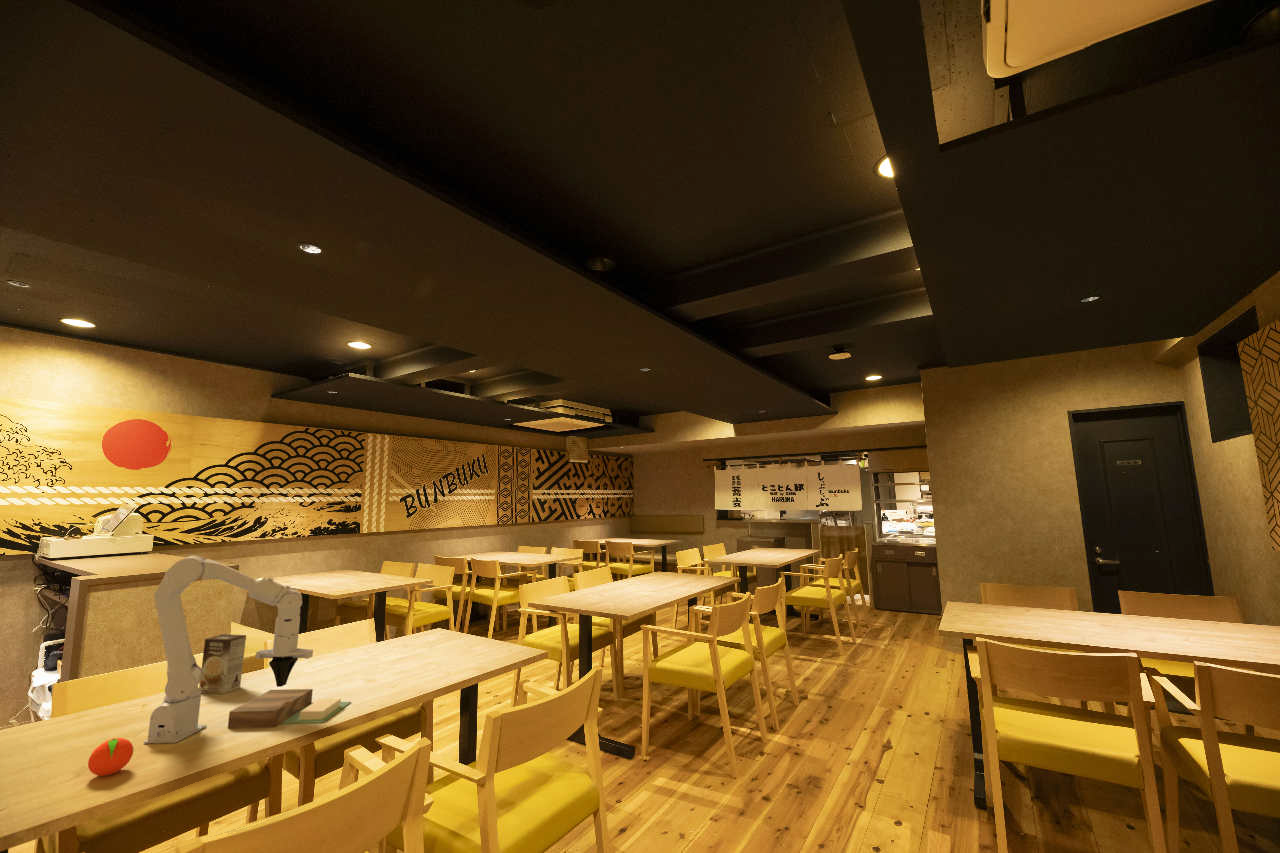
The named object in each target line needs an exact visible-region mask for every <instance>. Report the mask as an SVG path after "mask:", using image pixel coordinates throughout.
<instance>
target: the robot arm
mask: <svg viewBox="0 0 1280 853" xmlns="http://www.w3.org/2000/svg"><path fill="white" fill-rule="evenodd" d="M199 578H201V581H205V580H219V581H222V582H225V583H227V584H230V585H233V586H236V587H239V588H240V589H244V590H247V593H248V597H249V598H252V599H254V600H257V601H259V602H261V603H264V604H267V605H268V606H271V607H275V606H276V608H277V617H276V619H275V624H274V625H275V627H274V635H273V636H274V637H273V644H272V645H273V646H272V649H260V650H257V651H256V652H255V660H259V659H271V660H270V661H269V663H268V665H269V667H270V668H271V670H272V672H273V675H274V679H275V684H276V687H278V688H279V687H283V686H286V685H287V682H288V679H289V677H290V675H291V672H292V669H293V667H294V666H295V664H296V663H297V661H298V660H299V659H310V658H313V654H314V649H306V648H301V647H300V648H299V647H298V644H299V631H300V624H301V623H300V622H301V615H300V614H301V607H302V605H303V596H302V593H301V592H300V591H299V590H297V589H296V588H293V587H292V588H291V586H290V585H287V584H286V585H282V584H281V583H278V582H276V581H274V578H273V577H271V576H269V577H268V578H267V577H265V576H262V577H258V578H254V577H252V576H249V575H247V574H245V573H243V572H241V571H239V570H237V569H234V568H233V567H230V566H229V565H226V564H224V563H221V562H219V561H216V560H214V559H210V558H206V559H205V557H203V556H202V555H196V554H195V555H194V554H193V555H188V556H186V557H183V558H182V559H179V560H178V561H175V563H174V564H172V565H171V566H170V567H169V568H168V569H167V570H166V571H165V574H164V576H163V578H162V579H161V581H160V583H159V585H158V587H157V589H155V590H156V591H155V592H154V593H153V594H154V595H153V596H154V598H153V599H154V603H155V604H154V605H155V608H156V614H157V618H158V623H159V627H160V633H161V638H162V643H163V649H164V652H165V658H166V661H167V667H166V676H167V681H166V684H165V687H164V693H165V696H164V697H163V702H162V703H161V704H160V705H159V706H157V707H156V708H155V709H154V710H153V711H152V713H151V715H150V718H149V719H150V720H149V725H148V732H147V733H148V734H147V735H148V736H147V739H145V740H144V741H143V744H167V743H168V744H171V743H179V742H181V741H182V740H184V739H186V738H188V737H189V736H192V735H193V734H194V733H197V732H199V731H201V730H203V729H205V728H206V727H207V724H199V716H200V708H201V707H200V706H201V701H202V700H201V698H202V693H201V690H200V689H199V685H200V681H201V680H202V678H203V670H202V667H200V666H199V665H198V662H197V661H196V660H197V659H196V657H195V656H194V654H193V651H192V646H191V641H190V637H189V632H188V627H187V621H186V616H185V612H184V608H183V603H182V599H181V598H182V596H181V595H182V594H183V593H184V592H185V590H187V588H188V587H189V586H190V584H193V582H195V580H197V579H199Z"/></svg>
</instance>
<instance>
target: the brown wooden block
mask: <svg viewBox="0 0 1280 853" xmlns="http://www.w3.org/2000/svg"><path fill="white" fill-rule="evenodd" d="M313 690H314V689H313V688H310V689H309V688H304V689H303V688H300V689H299V688H298V689H289V688H288V689H269V690H268V691H266V692H264V693H262V694H260V695H259V696H257V697H255V698H252V699H251V700H249V701H246V702H245V703H243V704H241V705H240V706H239V705H238V706H237V707H236V708H233V709H232V710H230V711H229V712H228V722H227V723H228V724H227V729H235V728H236V729H238V728H239V729H245V728H246V729H247V728H249V729H250V728H252V729H253V728H276V727H277V726H279V725H280V724H281V722H283V721H284V720H286V719H287V718H289V717H291V716H292V715H294V714H295V713H297V712H298V711H300V710H302V709H303V708H305V707H306V706H308V705H309V704H311V703H313Z"/></svg>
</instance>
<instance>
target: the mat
mask: <svg viewBox="0 0 1280 853" xmlns="http://www.w3.org/2000/svg"><path fill="white" fill-rule="evenodd" d="M314 702H315V701H314ZM314 702H313V701H312V703H311V704H313V703H314ZM351 703H352V702H351V701H341V703H340V707H338V708H337V709H336V710H334V711H333V712H331V713H330V714H329V715H327V716H326V717H324V718H323V719H307V720H299V717H300V711H302V710H303V709H305V708H307V707H308V706H310V705H311V704H309V705H308V706H306V707H305V708H303V709H302V710H300V711H298V712H297V713H295V714H294V715H292V716H291V717H289V718H287V719H286V720H284V721H283V722H281V723H280V724H281V725H282V724H283V725H285V724H287V725H288V724H289V725H291V724H292V725H294V724H324V723H325V722H326V721H328V720H329V719H331V718H332V717H334V716H335V715H336V714H337V713H339V712H340V711H342V710H343V709H344V708H345V707H347V706H349V705H350V704H351ZM341 709H342V710H341Z"/></svg>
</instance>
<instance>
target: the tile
mask: <svg viewBox="0 0 1280 853" xmlns="http://www.w3.org/2000/svg"><path fill="white" fill-rule="evenodd" d="M341 702H342V698H319V699H317V700H316V701H314V703H313V702H312V703H313V704H311V705H310V706H308V707H307V708H305V709H303V710H302V711H300V717H299V720H307V719H323V718H324V717H326V716H327V715H329V714H330V713H331V712H333V711H334V710H336V709H337V708H338V707H340V703H341Z"/></svg>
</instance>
